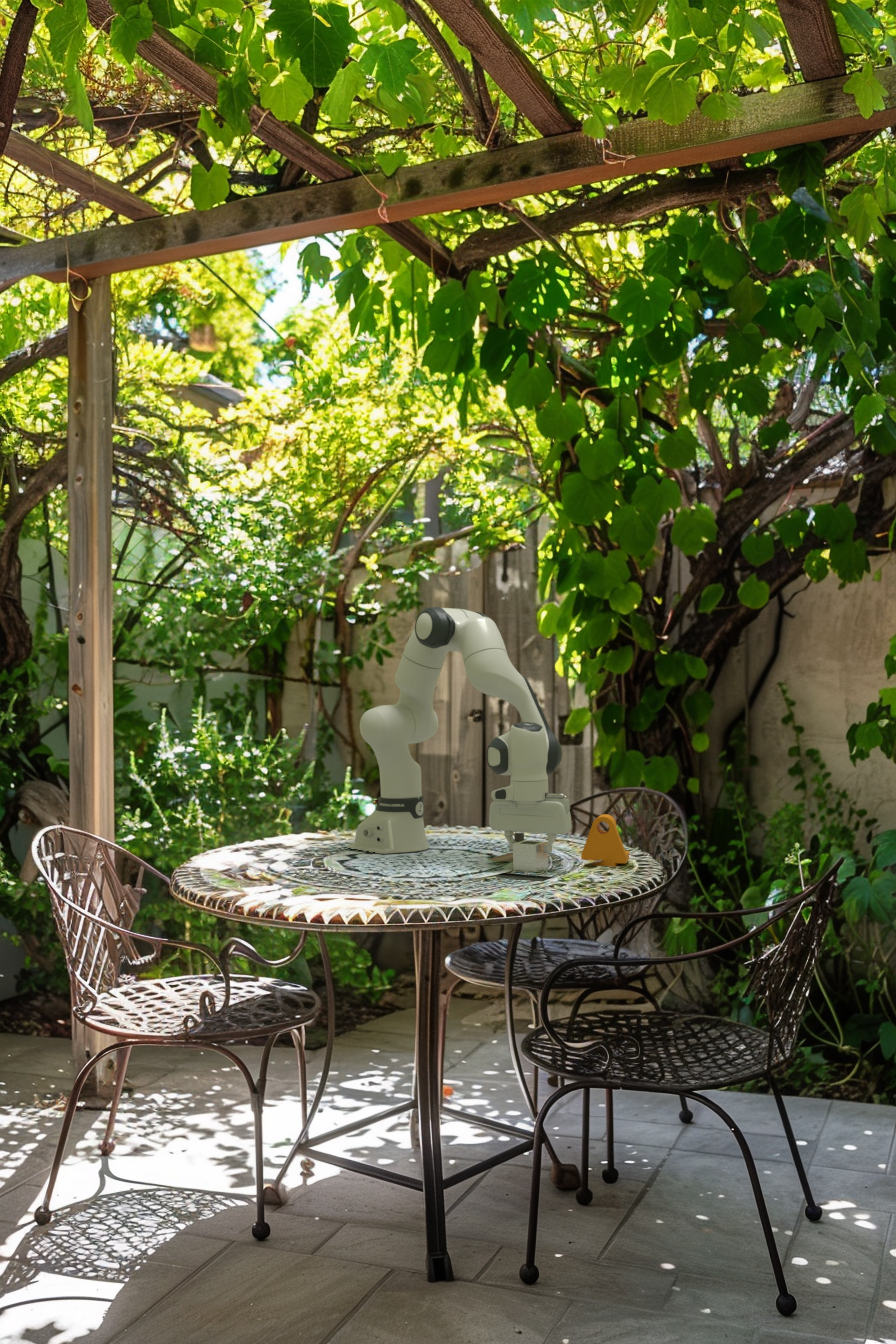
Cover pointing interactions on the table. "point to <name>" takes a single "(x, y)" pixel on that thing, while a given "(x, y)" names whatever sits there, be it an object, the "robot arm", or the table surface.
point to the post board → (509, 856)
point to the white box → (529, 856)
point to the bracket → (604, 844)
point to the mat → (523, 877)
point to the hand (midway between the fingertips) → (530, 851)
